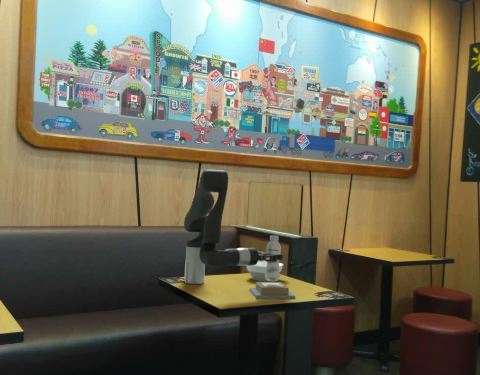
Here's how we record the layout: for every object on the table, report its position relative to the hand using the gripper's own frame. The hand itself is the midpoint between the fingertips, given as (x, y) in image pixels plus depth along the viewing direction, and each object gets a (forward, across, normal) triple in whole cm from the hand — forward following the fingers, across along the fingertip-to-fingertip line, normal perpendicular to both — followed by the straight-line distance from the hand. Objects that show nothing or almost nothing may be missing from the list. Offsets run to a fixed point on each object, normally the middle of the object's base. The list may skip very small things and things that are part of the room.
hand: (277, 256), depth 225 cm
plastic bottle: (-2, 0, +11) cm, 11 cm away
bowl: (+14, +32, +17) cm, 38 cm away
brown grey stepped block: (-2, 0, +17) cm, 17 cm away
